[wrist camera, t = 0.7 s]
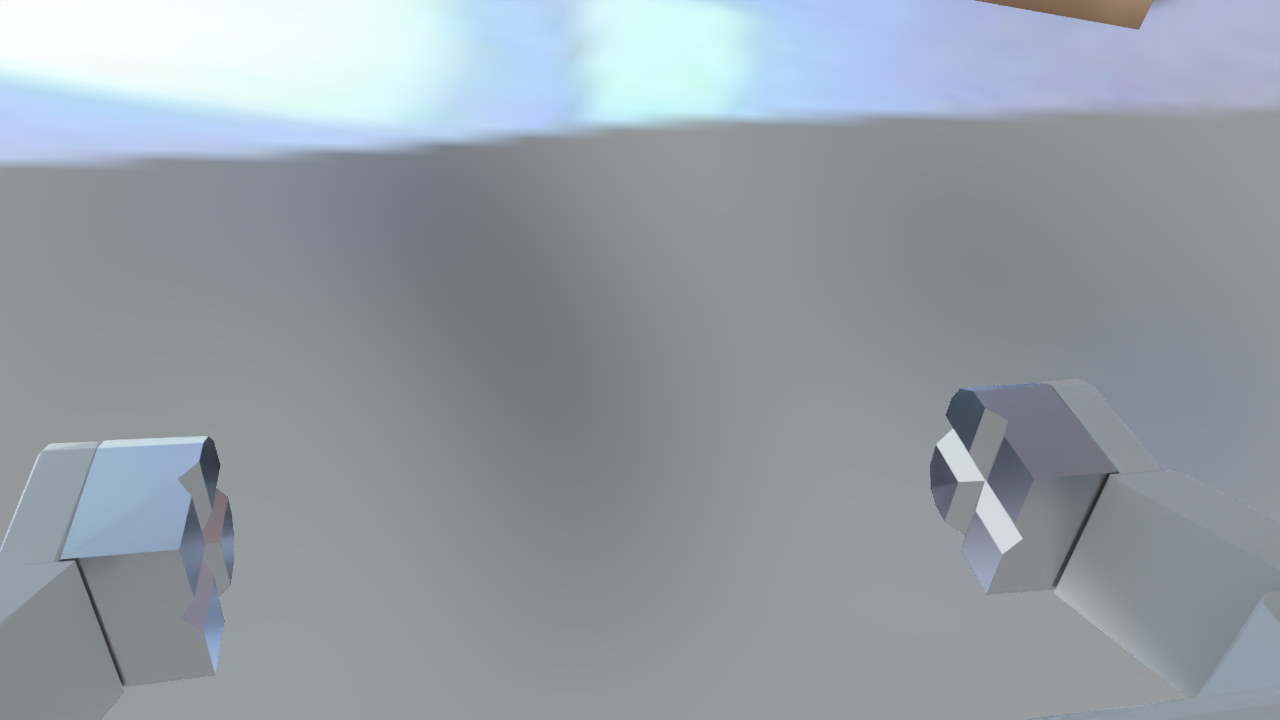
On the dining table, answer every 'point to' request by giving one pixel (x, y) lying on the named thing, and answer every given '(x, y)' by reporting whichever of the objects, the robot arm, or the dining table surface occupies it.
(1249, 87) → the dining table surface
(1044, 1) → the base slab
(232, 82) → the dining table surface
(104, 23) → the dining table surface
